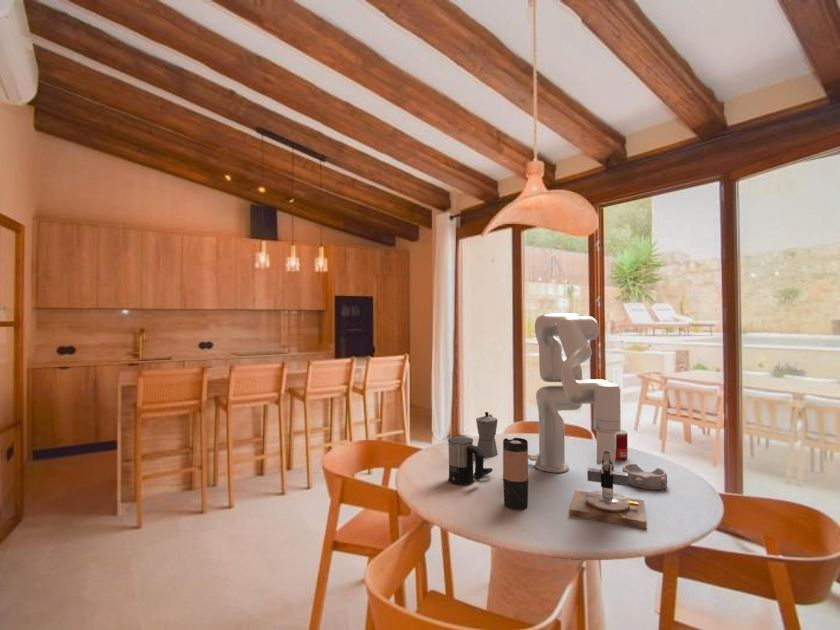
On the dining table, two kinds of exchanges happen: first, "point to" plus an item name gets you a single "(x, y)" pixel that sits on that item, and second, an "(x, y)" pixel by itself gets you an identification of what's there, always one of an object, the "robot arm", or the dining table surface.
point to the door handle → (608, 493)
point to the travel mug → (515, 473)
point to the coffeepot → (487, 435)
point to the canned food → (621, 445)
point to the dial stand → (627, 518)
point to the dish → (645, 477)
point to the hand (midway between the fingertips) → (607, 482)
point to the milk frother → (465, 461)
